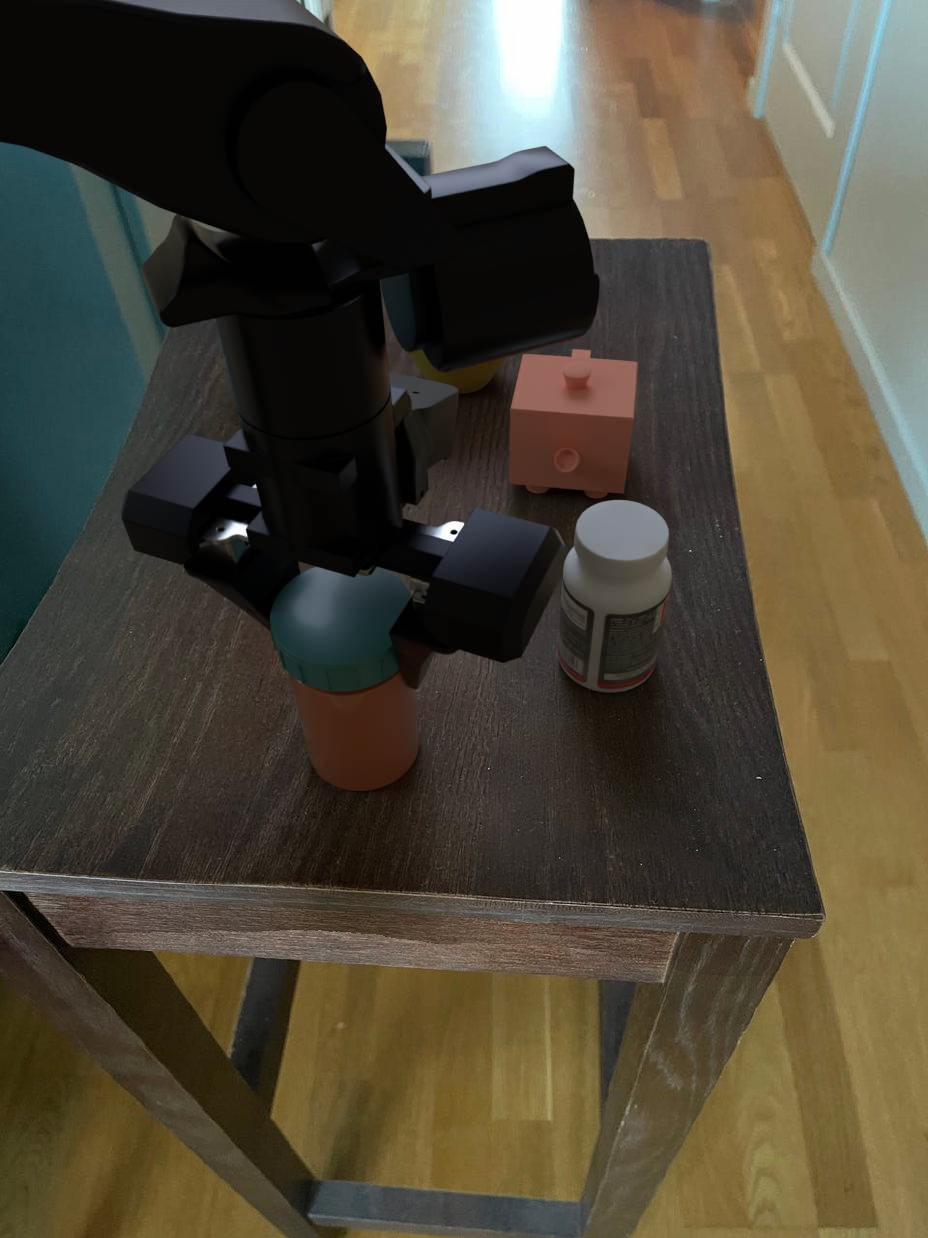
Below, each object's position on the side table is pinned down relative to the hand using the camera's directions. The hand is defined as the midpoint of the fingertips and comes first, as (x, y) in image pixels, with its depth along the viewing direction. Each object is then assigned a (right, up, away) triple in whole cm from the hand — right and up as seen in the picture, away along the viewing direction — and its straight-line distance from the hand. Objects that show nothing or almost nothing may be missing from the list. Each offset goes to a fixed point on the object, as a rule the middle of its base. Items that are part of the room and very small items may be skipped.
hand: (359, 663), depth 45 cm
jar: (0, -5, +4) cm, 6 cm away
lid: (0, +2, -3) cm, 4 cm away
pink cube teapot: (+13, +12, +19) cm, 26 cm away
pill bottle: (+13, 0, +8) cm, 16 cm away
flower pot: (+5, +22, +28) cm, 36 cm away
